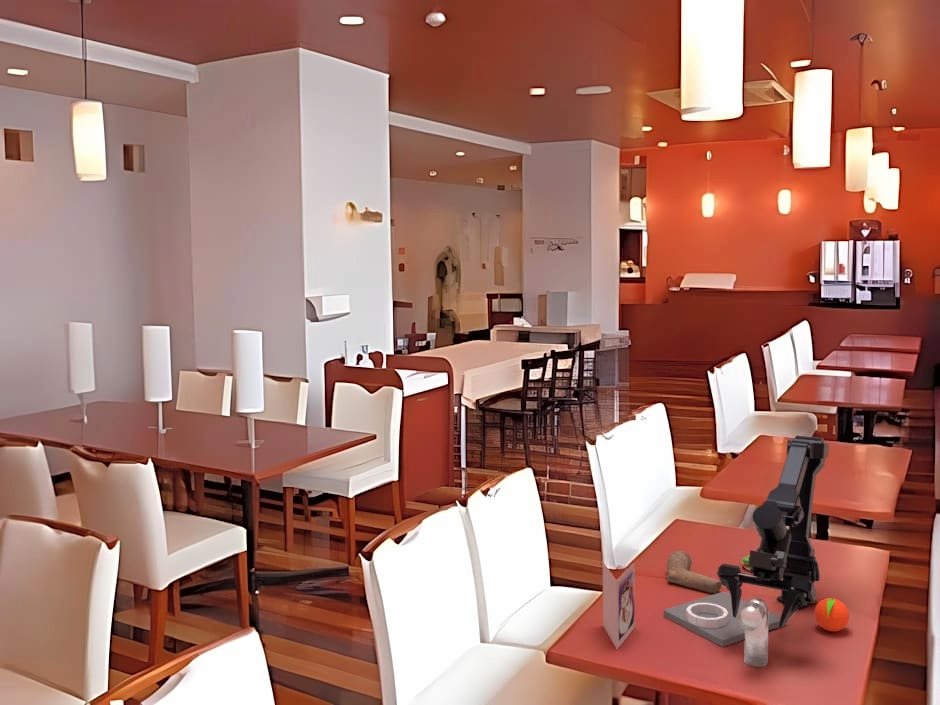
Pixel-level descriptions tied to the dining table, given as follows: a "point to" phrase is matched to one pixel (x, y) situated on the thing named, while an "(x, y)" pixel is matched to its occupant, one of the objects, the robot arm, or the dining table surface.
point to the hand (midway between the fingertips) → (757, 621)
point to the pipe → (688, 574)
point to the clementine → (831, 614)
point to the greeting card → (619, 604)
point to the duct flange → (714, 618)
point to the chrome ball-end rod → (755, 632)
